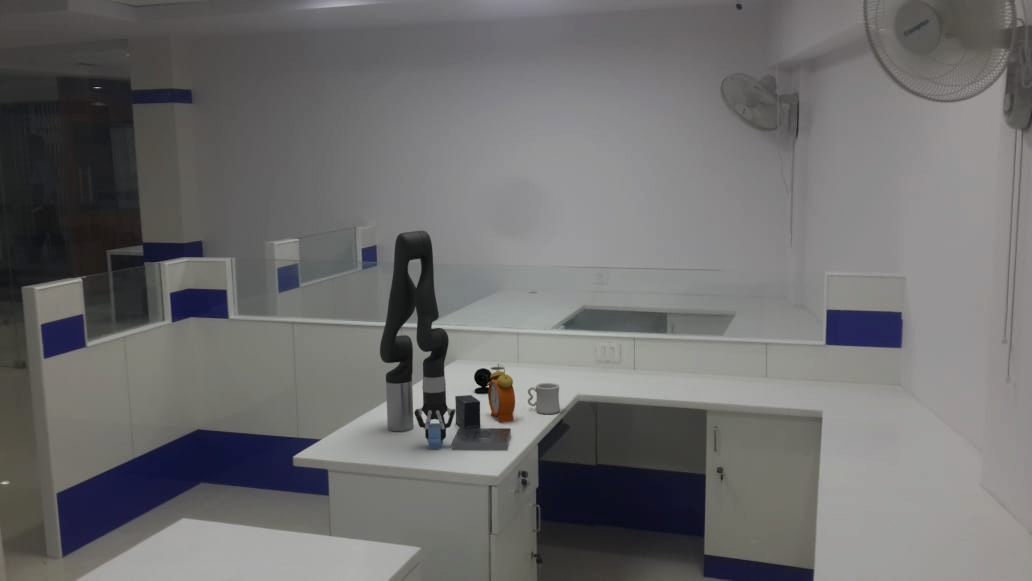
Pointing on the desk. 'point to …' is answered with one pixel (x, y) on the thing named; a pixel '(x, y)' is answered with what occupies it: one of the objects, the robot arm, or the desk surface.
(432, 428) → the block
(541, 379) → the desk surface
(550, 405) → the mug
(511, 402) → the alarm clock
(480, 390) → the black desk fan
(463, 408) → the small box
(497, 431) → the plate
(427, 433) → the robot arm
